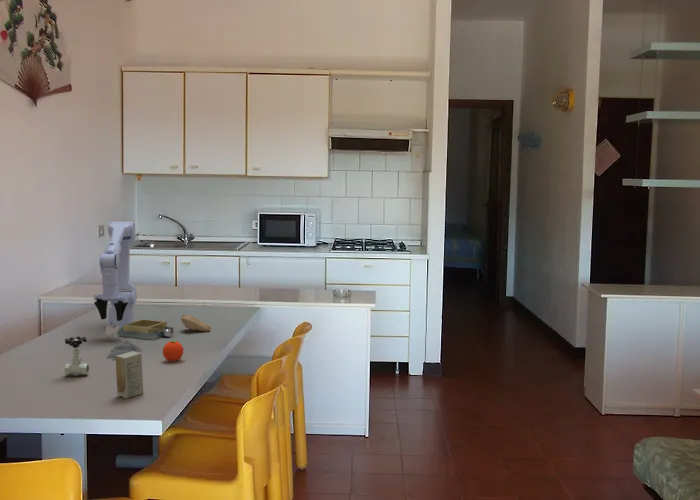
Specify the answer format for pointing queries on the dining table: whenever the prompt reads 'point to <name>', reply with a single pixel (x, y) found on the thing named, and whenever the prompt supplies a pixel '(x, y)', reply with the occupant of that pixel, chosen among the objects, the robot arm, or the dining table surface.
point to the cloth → (123, 349)
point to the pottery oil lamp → (194, 323)
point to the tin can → (112, 333)
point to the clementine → (173, 351)
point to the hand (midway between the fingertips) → (111, 319)
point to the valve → (76, 358)
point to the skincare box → (129, 374)
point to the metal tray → (146, 329)
